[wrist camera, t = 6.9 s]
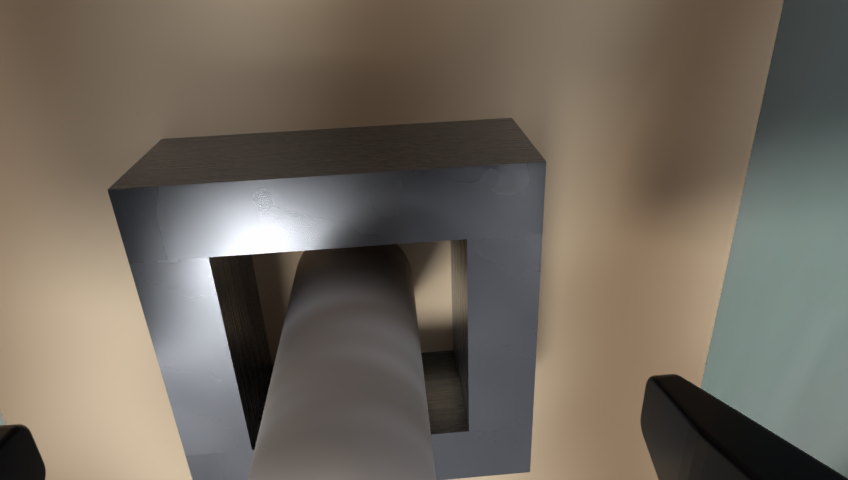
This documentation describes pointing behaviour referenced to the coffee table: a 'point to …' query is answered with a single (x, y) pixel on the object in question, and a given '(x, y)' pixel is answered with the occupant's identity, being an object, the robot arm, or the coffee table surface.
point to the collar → (327, 229)
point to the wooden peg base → (383, 264)
